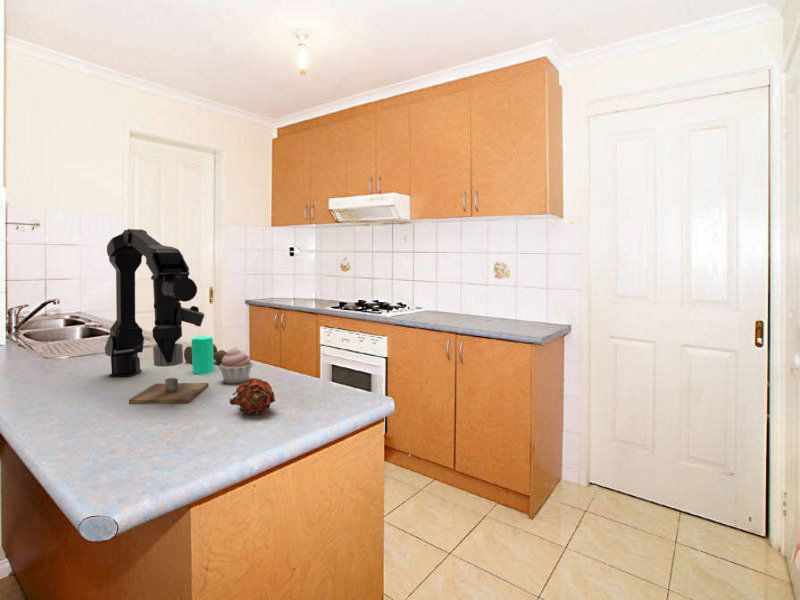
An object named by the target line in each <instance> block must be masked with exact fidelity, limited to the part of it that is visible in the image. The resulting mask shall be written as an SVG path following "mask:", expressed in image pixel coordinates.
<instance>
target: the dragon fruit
mask: <svg viewBox="0 0 800 600" xmlns="http://www.w3.org/2000/svg"><path fill="white" fill-rule="evenodd" d="M274 393H275V392H274V391H273V389H272V386H271V385H270V383H268V381H266V380H263V379H260V378H256V377H255V378H254V377H250V378H248V380H247V381H246V382H243V383H239V385H238V386H237V387H236V388H235V391H234V393H232V396H234V397H231V398H229V404H230V405H231V406H238V407H239V411H240V412H241V413H243V414H244V415H245V414H249V413H250V414H251V415H259V416H260V415H262V414H263V413H264V412H267V411H268V410H269V409H270V408H271V404H273V403H274V402H275V401H276V397H275V394H274Z"/></svg>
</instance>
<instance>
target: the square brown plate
mask: <svg viewBox="0 0 800 600" xmlns="http://www.w3.org/2000/svg"><path fill="white" fill-rule="evenodd" d="M178 381H179V379H178V378H176V377H170V378H166V379H165V380H164V383H163V382H162V383H161V382H160V383H159V382H158V383H154V384H152V385H150V386H149V387H148V388H146V389H144V390H142V391H141V392H140V393H138V394H136V395H134V396H133V397H131V398H130V399H128V405H142V404H143V405H147V404H148V403H160V404H189V402H190V403H191V402H193V400H194V399H195V398H196V397H198V396H199V395H200V394H202V393H203V392H204V391H205V390H206V389H207V388H209V387H208V386H209V385H210V384H209V382H178ZM202 391H203V392H202ZM148 405H149V404H148Z"/></svg>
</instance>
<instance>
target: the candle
mask: <svg viewBox="0 0 800 600" xmlns="http://www.w3.org/2000/svg"><path fill="white" fill-rule="evenodd" d="M213 344H214V338H213V337H212V336H204V335H201V336H196V337H192V338H191V346H192V364H191V365H192V373H193V374H194V373H196V374H195V375H204V373H207V374H210V373H209V372H211V373H213V372H215V365H214V364H215V362H214V361H215V359H214V356H213ZM212 371H213V372H212Z"/></svg>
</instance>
